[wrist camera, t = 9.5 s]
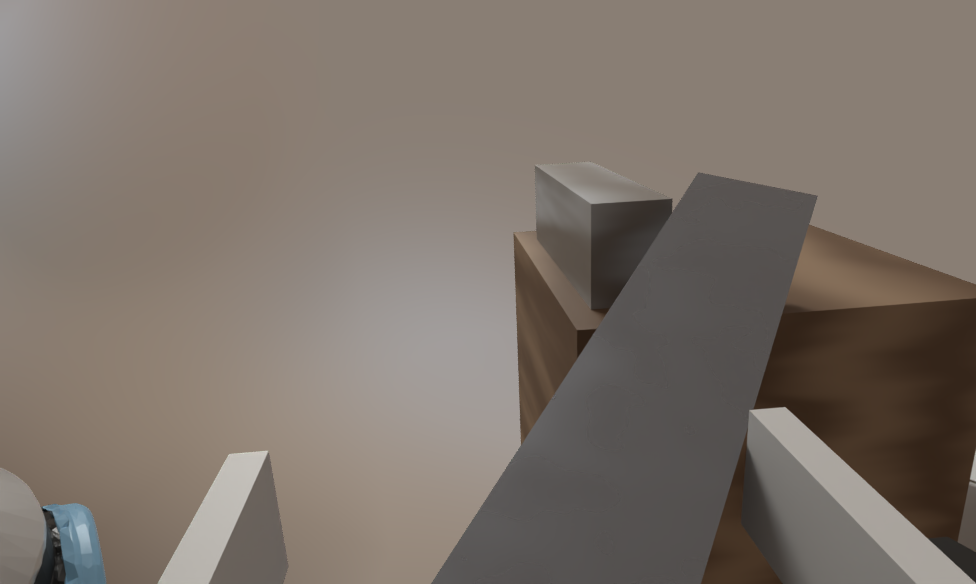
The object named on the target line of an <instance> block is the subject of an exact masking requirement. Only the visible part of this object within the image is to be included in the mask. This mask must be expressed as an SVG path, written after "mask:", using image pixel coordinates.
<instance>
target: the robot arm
mask: <svg viewBox="0 0 976 584" xmlns="http://www.w3.org/2000/svg"><path fill="white" fill-rule="evenodd" d="M741 524H742V526H743V527H744V529H745V530H746V532H747V533H748V534H749V536H750V537H751V539H752V540H753V542H754V543H755V545H756V546H757V547H758V549H759V550H760V552H761V553H762V555H763V556H764V558H765V559H766V560H767V562H768V563H769V565H770V566H771V568H772V569H773V570H774V572H775V573H776V575H777V576H778V578H779V579H780V581H781V582H782V583H783V584H976V552H975V551H973V550H971V549H969V548H967V547H966V546H964V545H962V544H960V543H958V542H956V541H955V540H953V539H951V538H949V537H938V538H926V537H925V536H924V535H923V534H922V533H921V532H920V531H919V530H918V529H917V528H916V527H915V526H914V525H912V524H911V523H910V522H909V521H908V520H907V519H906V518H905V517H904V516H903V515H902V514H901V513H899V512H898V511H897V510H896V509H895V508H894V507H893V506H892V505H891V504H890V503H889V502H888V501H886V500H885V499H884V498H883V497H882V496H881V495H880V494H879V493H878V492H877V491H876V490H875V489H873V488H872V487H871V486H870V485H869V484H868V483H867V482H866V481H865V480H864V479H863V478H862V477H860V476H859V475H858V474H857V473H856V472H855V471H854V470H853V469H852V468H851V467H850V466H849V465H847V464H846V463H845V462H844V461H843V460H842V459H841V458H840V457H839V456H838V455H837V454H836V453H835V452H833V451H832V450H831V449H830V448H829V447H828V446H827V445H826V444H825V443H824V442H823V441H822V440H820V439H819V438H818V437H817V436H816V435H815V434H814V433H813V432H812V431H811V430H810V429H809V428H807V427H806V426H805V425H804V424H803V423H802V422H801V421H800V420H799V419H798V418H797V417H796V416H794V415H793V414H792V413H791V412H790V411H789V410H788V409H787V408H786V407H780V408H769V409H757V410H749V421H748V434H747V448H746V461H745V475H744V488H743V502H742V515H741ZM287 569H288V561H287V555H286V549H285V543H284V538H283V532H282V526H281V521H280V514H279V509H278V503H277V497H276V491H275V485H274V479H273V473H272V467H271V461H270V456H269V451H259V452H247V453H235V454H229V455H228V457H227V459H226V461H225V463H224V464H223V466H222V468H221V470H220V472H219V473H218V475H217V477H216V479H215V481H214V482H213V484H212V486H211V488H210V490H209V491H208V493H207V495H206V497H205V499H204V501H203V502H202V504H201V506H200V508H199V510H198V511H197V513H196V515H195V517H194V519H193V520H192V523H191V524H190V526H189V528H188V529H187V531H186V533H185V535H184V537H183V539H182V540H181V542H180V544H179V546H178V548H177V549H176V551H175V553H174V555H173V557H172V558H171V560H170V562H169V564H168V566H167V568H166V569H165V571H164V573H163V575H162V577H161V578H160V580H159V582H158V584H283V582H284V579H285V576H286V572H287ZM0 584H106V577H105V571H104V565H103V559H102V554H101V548H100V544H99V538H98V535H97V529H96V525H95V522H94V518H93V515H92V513H91V512H90V510H89V509H88V508H87V507H85V506H83V505H80V504H77V503H74V504H67V505H57V504H52V505H48V506H43V507H41V506H40V504H39V502H38V501H37V499H36V497H35V496H34V494H33V493H32V491H31V489H30V488H29V486H28V485H27V484H26V483H25V482H23V481H22V480H21V479H20V478H18V477H17V476H16V475H14V474H12V473H11V472H9V471H7V470H5V469H3V468H0Z"/></svg>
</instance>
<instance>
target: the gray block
mask: <svg viewBox="0 0 976 584" xmlns="http://www.w3.org/2000/svg"><path fill="white" fill-rule="evenodd" d="M816 200H817V196H816V195H811V194H805V193H801V192H795V191H790V190H785V189H780V188H775V187H769V186H765V185H760V184H755V183H750V182H744V181H739V180H734V179H729V178H724V177H719V176H713V175H709V174H703V173H698V174H697V176H696V177H695V179H694V180H693V182H692V183H691V185H690V186H689V188H688V189H687V191H686V192H685V194H684V196H683V197H682V198H681V200H680V202H679V203H678V205H677V206H676V208H675V209H674V211H673V212H672V214H671V215H670V217H669V218H668V220H667V222H666V223H665V225H664V226H663V228H662V229H661V231H660V232H659V234H658V235H657V237H656V238H655V240H654V242H653V243H652V245H651V246H650V248H649V249H648V251H647V252H646V254H645V255H644V257H643V258H642V260H641V262H640V263H639V265H638V266H637V268H636V269H635V271H634V272H633V274H632V275H631V277H630V279H629V280H628V282H627V283H626V285H625V286H624V288H623V289H622V291H621V292H620V294H619V295H618V297H617V299H616V300H615V302H614V303H613V305H612V306H611V308H610V309H609V311H608V312H607V314H606V315H605V317H604V319H603V320H602V322H601V323H600V325H599V326H598V328H597V329H596V331H595V332H594V334H593V335H592V337H591V339H590V340H589V342H588V343H587V345H586V346H585V348H584V349H583V351H582V352H581V354H580V355H579V357H578V359H577V360H576V362H575V363H574V365H573V366H572V368H571V369H570V371H569V372H568V374H567V375H566V377H565V379H564V380H563V382H562V383H561V385H560V386H559V388H558V389H557V391H556V392H555V394H554V395H553V397H552V399H551V400H550V402H549V403H548V405H547V406H546V408H545V409H544V411H543V412H542V414H541V415H540V417H539V419H538V420H537V422H536V423H535V425H534V426H533V428H532V429H531V431H530V432H529V434H528V435H527V437H526V439H525V440H524V442H523V443H522V445H521V446H520V448H519V449H518V451H517V452H516V454H515V455H514V457H513V459H512V460H511V462H510V463H509V465H508V466H507V468H506V469H505V471H504V472H503V474H502V476H501V477H500V479H499V480H498V482H497V483H496V485H495V486H494V488H493V489H492V491H491V493H490V494H489V496H488V497H487V499H486V500H485V502H484V503H483V505H482V506H481V508H480V510H479V511H478V513H477V514H476V516H475V517H474V519H473V520H472V522H471V523H470V525H469V526H468V528H467V530H466V531H465V532H464V534H463V536H462V537H461V539H460V540H459V542H458V543H457V545H456V546H455V548H454V549H453V551H452V552H451V554H450V556H449V557H448V559H447V560H446V562H445V563H444V565H443V566H442V568H441V569H440V571H439V572H438V574H437V576H436V577H435V579H434V580H433V582H432V583H431V584H701V582H702V578H703V575H704V572H705V568H706V565H707V562H708V558H709V555H710V552H711V548H712V545H713V542H714V538H715V535H716V532H717V528H718V525H719V522H720V518H721V515H722V512H723V509H724V505H725V502H726V499H727V495H728V492H729V489H730V485H731V482H732V479H733V475H734V472H735V469H736V465H737V462H738V459H739V455H740V452H741V449H742V445H743V442H744V439H745V435H746V432H747V429H748V421H749V410H753V409H754V406H755V402H756V399H757V396H758V392H759V389H760V386H761V382H762V379H763V376H764V372H765V369H766V366H767V362H768V359H769V356H770V352H771V349H772V346H773V342H774V339H775V336H776V332H777V329H778V326H779V322H780V319H781V316H782V313H783V309H784V306H785V303H786V299H787V296H788V293H789V289H790V286H791V283H792V279H793V276H794V273H795V269H796V266H797V263H798V259H799V256H800V253H801V249H802V246H803V243H804V239H805V236H806V233H807V229H808V226H809V223H810V219H811V216H812V213H813V210H814V206H815V203H816Z"/></svg>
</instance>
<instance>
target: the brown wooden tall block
mask: <svg viewBox="0 0 976 584" xmlns="http://www.w3.org/2000/svg"><path fill="white" fill-rule="evenodd" d="M535 187H536V188H535V189H536V228H537V229H536V230H537V231H527V232H514V258H515V285H516V315H517V342H518V371H519V397H520V424H521V425H520V428H521V445H522V443H523V442H524V440H525V439H526V437H527V435H528V434H529V432H530V431H531V429H532V428H533V426H534V425H535V423H536V422H537V420H538V419H539V417H540V415H541V414H542V412H543V411H544V409H545V408H546V406H547V405H548V403H549V402H550V400H551V399H552V397H553V395H554V394H555V392H556V391H557V389H558V388H559V386H560V385H561V383H562V382H563V380H564V379H565V377H566V375H567V374H568V372H569V371H570V369H571V368H572V366H573V365H574V363H575V362H576V360H577V359H578V357H579V355H580V354H581V352H582V351H583V349H584V348H585V346H586V345H587V343H588V342H589V340H590V339H591V337H592V335H593V334H594V332H595V331H596V329H597V328H598V326H599V325H600V323H601V322H602V320H603V319H604V317H605V315H606V314H607V312H608V311H609V309H610V308H611V306H612V305H613V303H614V302H615V300H616V299H617V297H618V295H619V294H620V292H621V291H622V289H623V288H624V286H625V285H626V283H627V282H628V280H629V279H630V277H631V275H632V274H633V272H634V271H635V269H636V268H637V266H638V265H639V263H640V262H641V260H642V258H643V257H644V255H645V254H646V252H647V251H648V249H649V248H650V246H651V245H652V243H653V242H654V240H655V238H656V237H657V235H658V234H659V232H660V231H661V229H662V228H663V226H664V225H665V223H666V222H667V220H668V218H669V217H670V215H671V214H672V198H670V197H667V196H665V195H663V194H661V193H658V192H656V191H654V190H652V189H650V188H647V187H645V186H643V185H641V184H639V183H636V182H634V181H632V180H630V179H627V178H625V177H623V176H621V175H619V174H617V173H614V172H612V171H610V170H608V169H605V168H603V167H601V166H599V165H596V164H594V163H592V162H578V163H562V164H546V165H535ZM780 407H786V408H787V409H788V410H789V411H790V412H791V413H792V414H793V415H794V416H796V417H797V418H798V419H799V420H800V421H801V422H802V423H803V424H804V425H805V426H806V427H807V428H809V429H810V430H811V431H812V432H813V433H814V434H815V435H816V436H817V437H818V438H819V439H820V440H822V441H823V442H824V443H825V444H826V445H827V446H828V447H829V448H830V449H831V450H832V451H833V452H835V453H836V454H837V455H838V456H839V457H840V458H841V459H842V460H843V461H844V462H845V463H846V464H847V465H849V466H850V467H851V468H852V469H853V470H854V471H855V472H856V473H857V474H858V475H859V476H860V477H862V478H863V479H864V480H865V481H866V482H867V483H868V484H869V485H870V486H871V487H872V488H873V489H875V490H876V491H877V492H878V493H879V494H880V495H881V496H882V497H883V498H884V499H885V500H886V501H888V502H889V503H890V504H891V505H892V506H893V507H894V508H895V509H896V510H897V511H898V512H899V513H901V514H902V515H903V516H904V517H905V518H906V519H907V520H908V521H909V522H910V523H911V524H912V525H914V526H915V527H916V528H917V529H918V530H919V531H920V532H921V533H922V534H923V535H924V536H925V537H926V538H938V537H949V538H951V539H953V540H955V541H956V542H958V537H959V532H960V527H961V522H962V517H963V512H964V507H965V502H966V497H967V492H968V487H969V482H970V477H971V472H972V467H973V462H974V457H975V451H976V285H975V284H973V283H970V282H967V281H964V280H961V279H959V278H956V277H953V276H950V275H948V274H945V273H942V272H939V271H936V270H933V269H931V268H928V267H925V266H923V265H920V264H917V263H914V262H912V261H909V260H906V259H903V258H900V257H898V256H895V255H892V254H889V253H887V252H884V251H881V250H878V249H875V248H873V247H870V246H867V245H864V244H862V243H859V242H856V241H853V240H850V239H848V238H845V237H842V236H839V235H836V234H834V233H831V232H828V231H825V230H823V229H820V228H817V227H814V226H812V225H809V226H808V229H807V233H806V236H805V239H804V243H803V246H802V249H801V253H800V256H799V259H798V263H797V266H796V269H795V273H794V276H793V279H792V283H791V286H790V289H789V293H788V296H787V299H786V303H785V306H784V309H783V313H782V316H781V319H780V322H779V326H778V329H777V332H776V336H775V339H774V342H773V346H772V349H771V352H770V356H769V359H768V362H767V366H766V369H765V372H764V376H763V379H762V382H761V386H760V389H759V392H758V396H757V399H756V402H755V406H754V409H753V410H757V409H769V408H780ZM747 434H748V429H747V432H746V435H745V439H744V442H743V445H742V449H741V452H740V455H739V459H738V462H737V465H736V469H735V472H734V475H733V479H732V482H731V485H730V489H729V492H728V495H727V499H726V502H725V505H724V509H723V512H722V515H721V518H720V522H719V525H718V528H717V532H716V535H715V538H714V542H713V545H712V548H711V552H710V555H709V558H708V562H707V565H706V568H705V572H704V575H703V578H702V582H701V584H783V583H782V582H781V581H780V579H779V578H778V576H777V575H776V573H775V572H774V570H773V569H772V568H771V566H770V565H769V563H768V562H767V560H766V559H765V558H764V556H763V555H762V553H761V552H760V550H759V549H758V547H757V546H756V545H755V543H754V542H753V540H752V539H751V537H750V536H749V534H748V533H747V532H746V530H745V529H744V527H743V526H742V524H741V515H742V502H743V488H744V475H745V461H746V448H747Z"/></svg>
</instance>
